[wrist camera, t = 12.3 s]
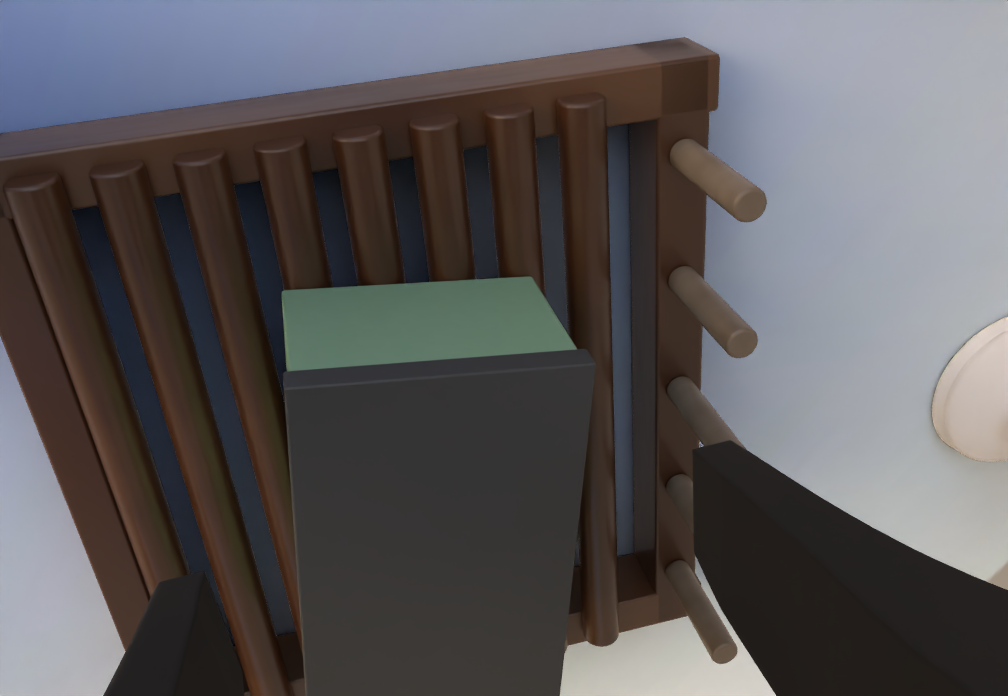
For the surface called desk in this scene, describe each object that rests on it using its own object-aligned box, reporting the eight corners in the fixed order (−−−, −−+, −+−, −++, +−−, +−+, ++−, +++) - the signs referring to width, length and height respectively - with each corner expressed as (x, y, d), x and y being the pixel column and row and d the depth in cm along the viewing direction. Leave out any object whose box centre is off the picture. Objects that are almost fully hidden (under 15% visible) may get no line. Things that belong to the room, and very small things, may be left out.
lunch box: (300, 626, 24) (310, 764, 20) (275, 285, 19) (283, 388, 16) (513, 596, 25) (557, 722, 21) (537, 270, 20) (596, 363, 17)
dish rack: (166, 692, 27) (153, 859, 23) (-44, 138, 19) (-126, 236, 14) (677, 571, 29) (751, 700, 25) (687, 35, 21) (798, 93, 17)
